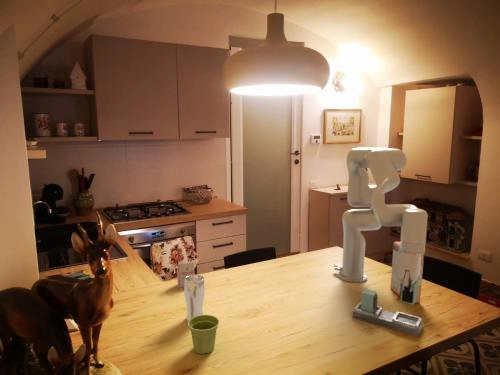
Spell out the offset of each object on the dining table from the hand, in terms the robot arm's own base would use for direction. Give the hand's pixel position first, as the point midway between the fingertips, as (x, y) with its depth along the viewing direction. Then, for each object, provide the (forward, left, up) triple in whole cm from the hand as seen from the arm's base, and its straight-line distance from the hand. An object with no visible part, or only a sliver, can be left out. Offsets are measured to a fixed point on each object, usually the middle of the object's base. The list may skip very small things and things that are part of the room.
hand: (408, 298), depth 124 cm
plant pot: (-48, -49, -11) cm, 69 cm away
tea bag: (-86, -18, -11) cm, 88 cm away
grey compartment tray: (-7, 0, -11) cm, 13 cm away
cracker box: (-7, +27, -11) cm, 30 cm away
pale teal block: (0, 0, -1) cm, 1 cm away
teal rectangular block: (-13, 0, -8) cm, 15 cm away
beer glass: (-63, -37, -11) cm, 73 cm away
